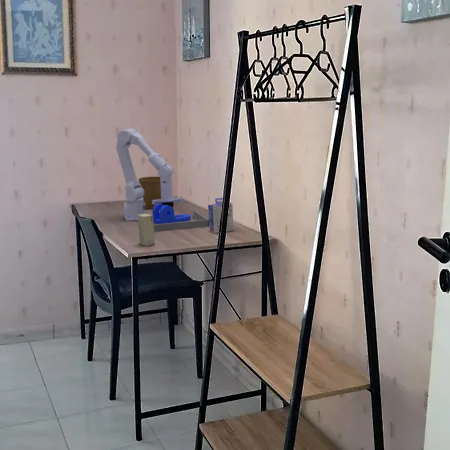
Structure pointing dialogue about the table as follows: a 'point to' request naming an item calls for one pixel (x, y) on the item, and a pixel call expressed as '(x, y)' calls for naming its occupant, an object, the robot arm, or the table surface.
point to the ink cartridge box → (216, 214)
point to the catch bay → (184, 223)
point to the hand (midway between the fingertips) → (168, 217)
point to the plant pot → (150, 190)
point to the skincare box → (146, 229)
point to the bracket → (167, 215)
